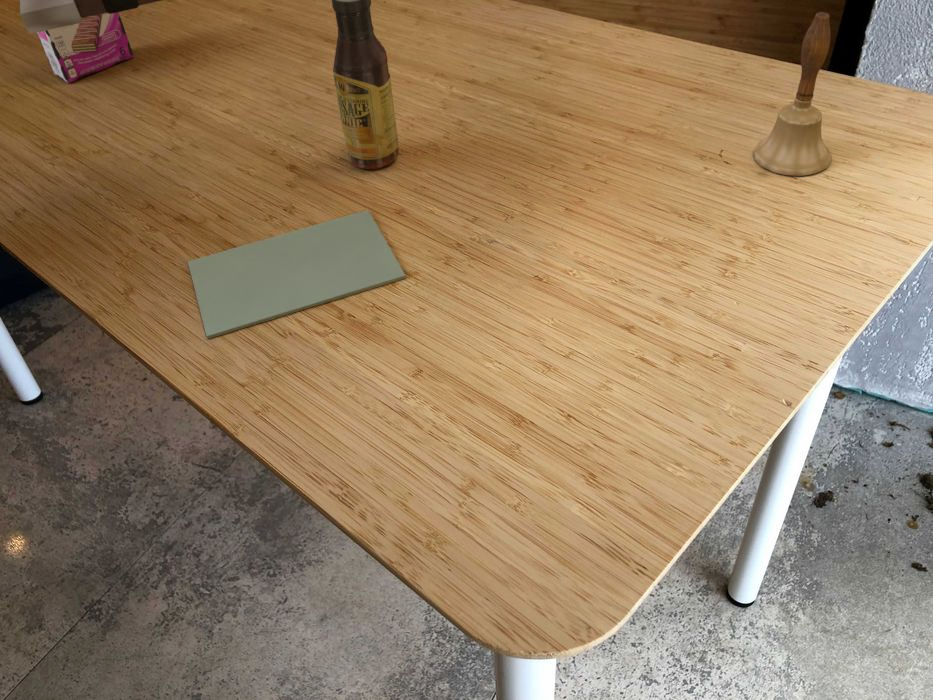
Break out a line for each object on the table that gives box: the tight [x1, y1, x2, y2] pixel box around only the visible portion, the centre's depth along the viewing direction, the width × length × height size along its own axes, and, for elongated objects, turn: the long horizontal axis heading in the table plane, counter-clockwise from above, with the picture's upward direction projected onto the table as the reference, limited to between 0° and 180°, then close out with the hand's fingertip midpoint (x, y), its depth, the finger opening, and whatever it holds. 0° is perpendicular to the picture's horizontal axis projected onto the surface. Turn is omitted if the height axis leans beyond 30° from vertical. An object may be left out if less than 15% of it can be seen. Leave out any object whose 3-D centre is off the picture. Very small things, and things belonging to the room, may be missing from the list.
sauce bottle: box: [331, 0, 399, 171], centre depth 95 cm, size 7×6×20 cm
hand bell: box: [752, 11, 833, 177], centre depth 90 cm, size 8×8×16 cm
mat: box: [187, 209, 407, 340], centre depth 87 cm, size 20×13×1 cm, turn 112°
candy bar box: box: [36, 12, 135, 84], centre depth 123 cm, size 11×5×16 cm, turn 134°
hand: (120, 0), depth 85 cm, fingers closed on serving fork, 3 cm apart
